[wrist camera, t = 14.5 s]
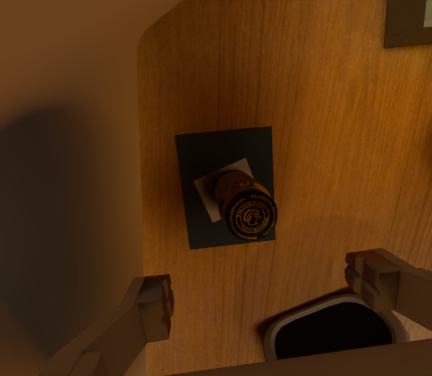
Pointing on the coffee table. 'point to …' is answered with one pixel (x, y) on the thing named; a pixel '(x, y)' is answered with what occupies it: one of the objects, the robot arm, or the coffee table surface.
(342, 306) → the alarm clock
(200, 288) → the coffee table surface
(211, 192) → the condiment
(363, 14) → the coffee table surface
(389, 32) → the tray
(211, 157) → the mat
